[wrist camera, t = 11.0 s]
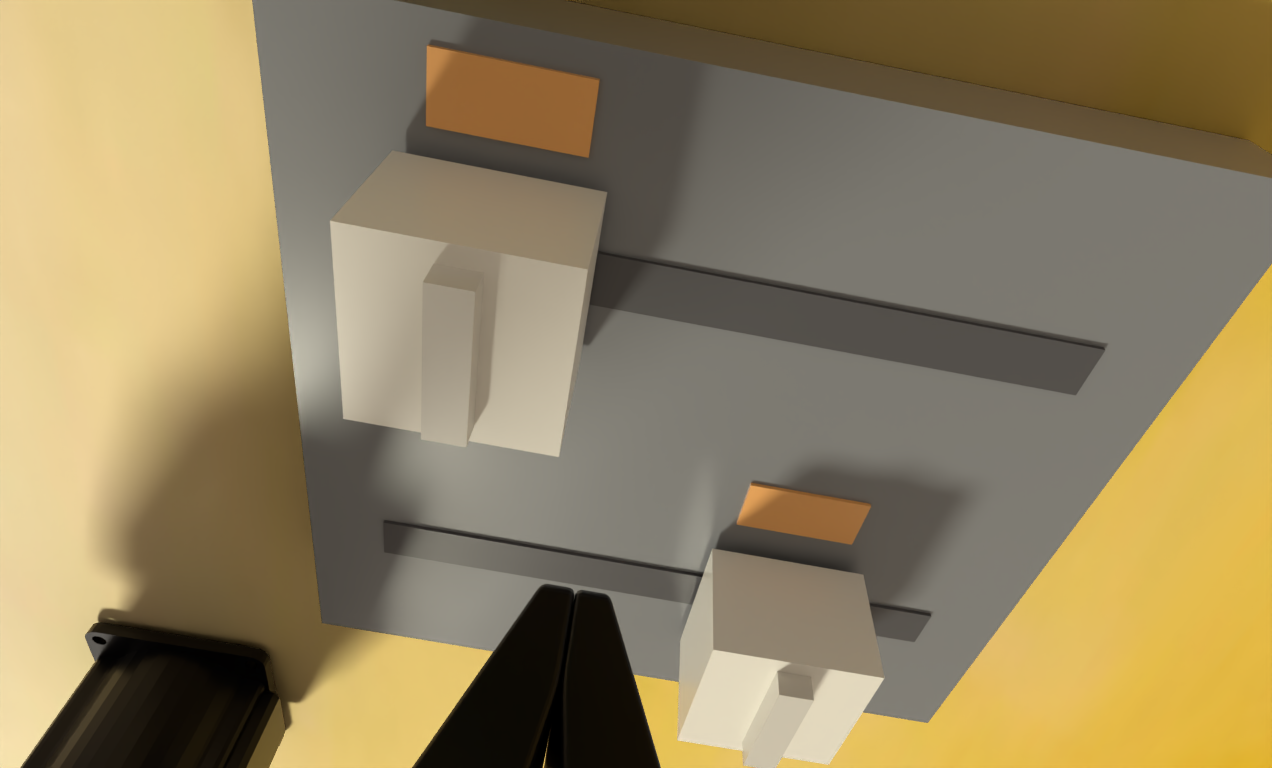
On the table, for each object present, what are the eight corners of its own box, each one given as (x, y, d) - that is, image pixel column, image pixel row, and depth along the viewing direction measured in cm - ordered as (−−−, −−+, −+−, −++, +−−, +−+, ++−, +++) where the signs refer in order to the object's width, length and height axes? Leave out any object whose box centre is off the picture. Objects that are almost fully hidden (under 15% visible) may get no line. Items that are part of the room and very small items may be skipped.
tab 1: (395, 330, 17) (330, 440, 14) (392, 150, 14) (314, 238, 12) (579, 364, 17) (554, 479, 14) (607, 192, 15) (583, 288, 12)
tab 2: (680, 640, 23) (676, 763, 20) (712, 548, 20) (713, 673, 17) (815, 662, 23) (831, 787, 20) (863, 574, 20) (889, 702, 17)
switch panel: (351, 559, 26) (320, 625, 24) (309, -53, 15) (246, -29, 13) (911, 653, 27) (928, 726, 25) (1249, 140, 16) (1330, 191, 14)
